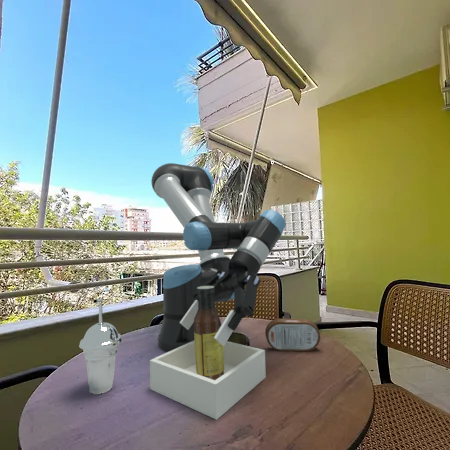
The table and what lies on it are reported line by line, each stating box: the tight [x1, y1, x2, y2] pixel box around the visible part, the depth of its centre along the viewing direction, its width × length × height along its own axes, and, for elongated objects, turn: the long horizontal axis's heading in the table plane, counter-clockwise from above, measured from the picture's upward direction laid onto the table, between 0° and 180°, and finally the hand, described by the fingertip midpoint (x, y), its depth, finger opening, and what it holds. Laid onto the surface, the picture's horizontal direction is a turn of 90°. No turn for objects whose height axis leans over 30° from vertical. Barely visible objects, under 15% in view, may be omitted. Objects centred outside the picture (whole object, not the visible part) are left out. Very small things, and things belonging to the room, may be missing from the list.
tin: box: [264, 318, 321, 352], centre depth 78 cm, size 15×3×8 cm, turn 84°
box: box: [149, 340, 267, 421], centre depth 61 cm, size 18×18×6 cm
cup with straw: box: [78, 298, 123, 395], centre depth 60 cm, size 8×9×20 cm
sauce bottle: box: [194, 286, 224, 380], centre depth 62 cm, size 7×6×20 cm
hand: (199, 333), depth 60 cm, fingers open, 13 cm apart
